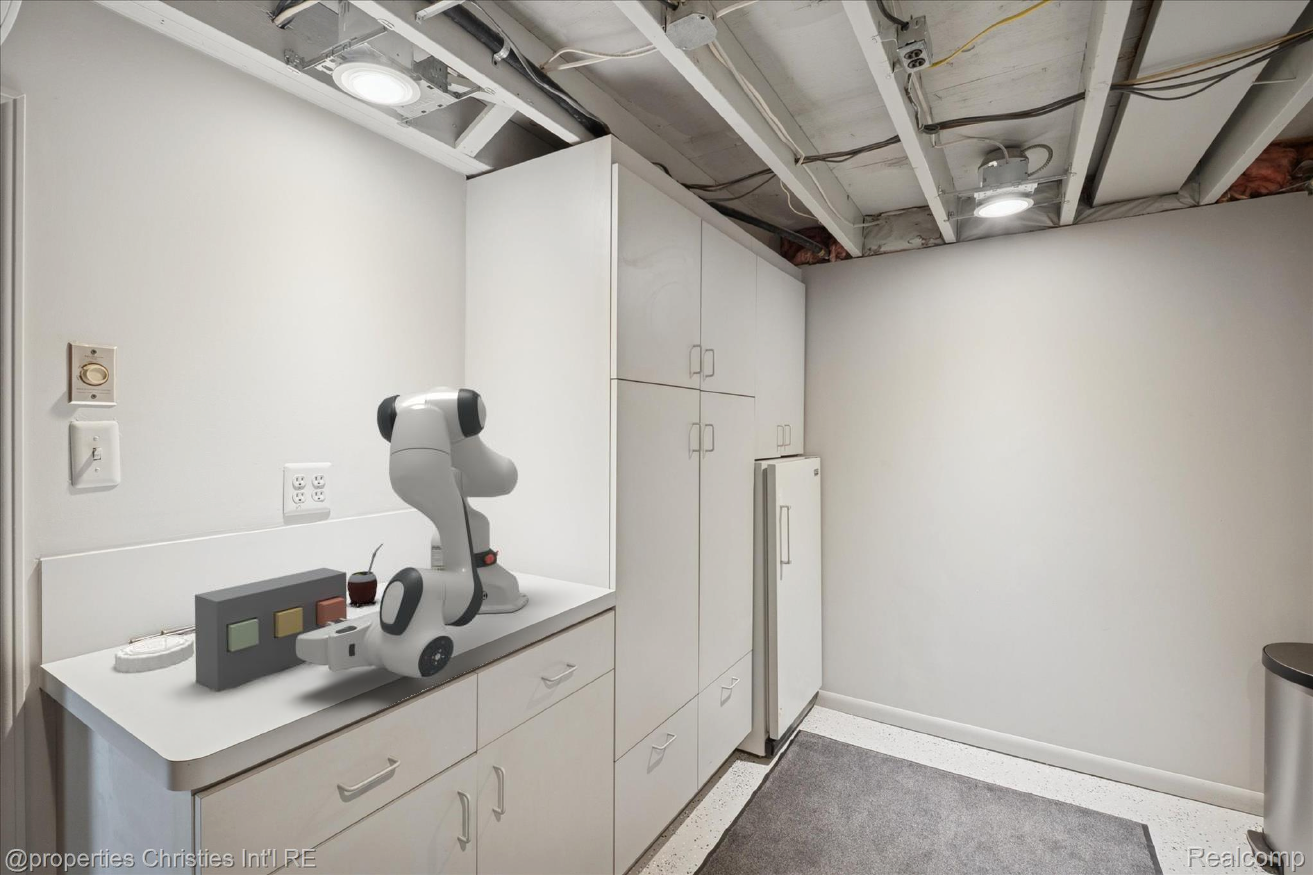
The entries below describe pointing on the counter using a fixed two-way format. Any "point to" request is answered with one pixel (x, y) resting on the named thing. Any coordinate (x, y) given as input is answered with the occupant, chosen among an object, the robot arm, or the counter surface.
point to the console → (258, 603)
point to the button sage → (242, 634)
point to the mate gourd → (363, 586)
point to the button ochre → (288, 621)
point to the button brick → (330, 610)
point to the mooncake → (154, 653)
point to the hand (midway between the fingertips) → (333, 624)
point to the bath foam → (436, 552)
